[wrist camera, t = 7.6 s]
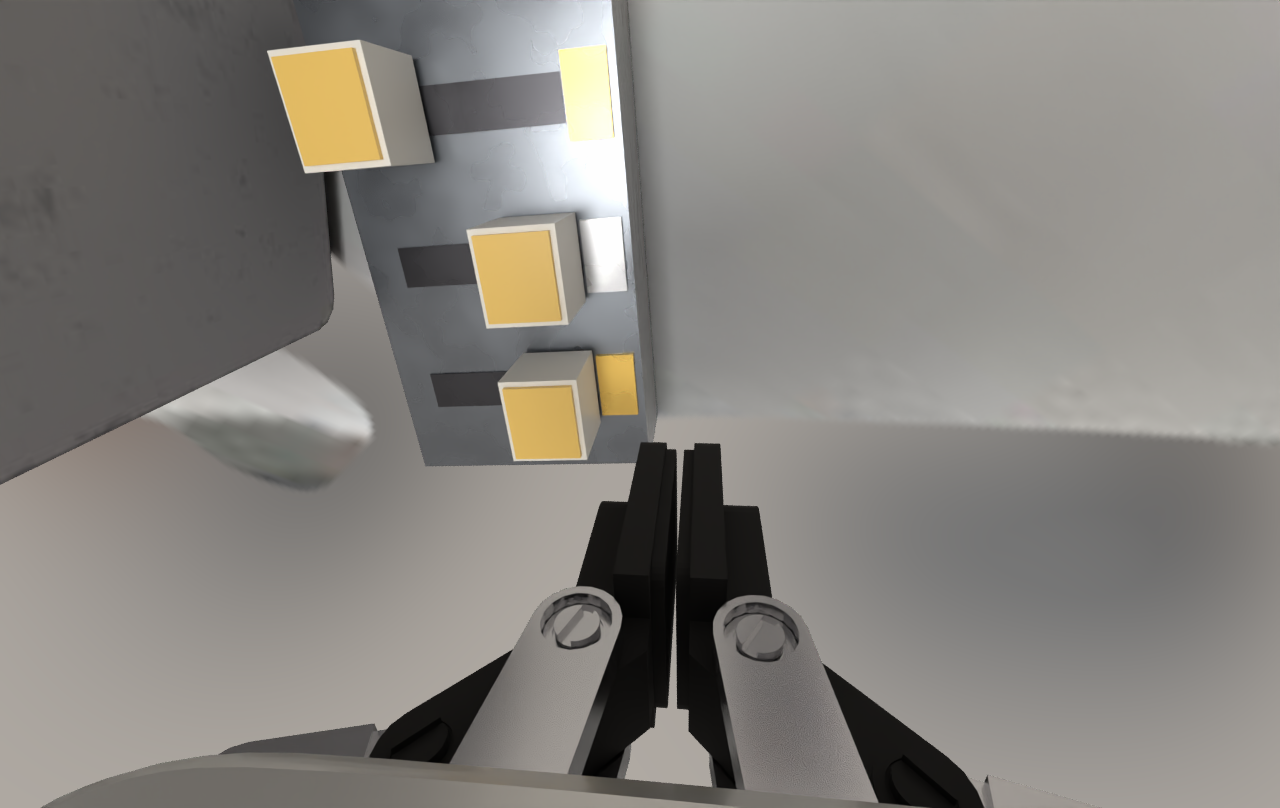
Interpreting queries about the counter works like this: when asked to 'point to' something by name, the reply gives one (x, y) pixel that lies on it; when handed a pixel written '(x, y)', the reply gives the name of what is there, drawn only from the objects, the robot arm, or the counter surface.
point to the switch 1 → (352, 106)
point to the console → (505, 207)
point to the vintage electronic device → (145, 211)
